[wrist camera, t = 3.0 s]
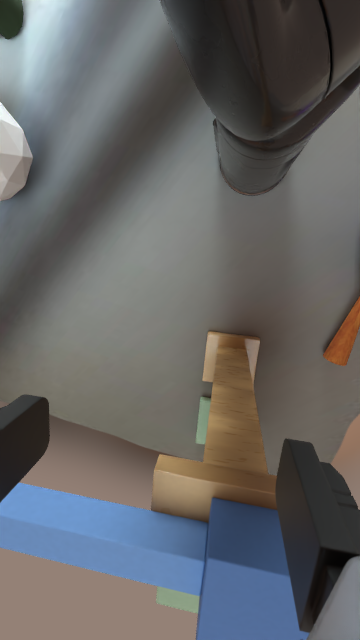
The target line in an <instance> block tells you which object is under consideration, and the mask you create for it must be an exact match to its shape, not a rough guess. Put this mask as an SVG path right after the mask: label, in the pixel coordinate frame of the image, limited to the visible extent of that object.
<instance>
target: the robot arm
mask: <svg viewBox="0 0 360 640" xmlns="http://www.w3.org/2000/svg"><path fill="white" fill-rule="evenodd" d="M159 1H160V3H161V6H162V8H163V11H164V14H165V16H166V19H167V21H168V24H169V26H170V29H171V32H172V34H173V37H174V39H175V42H176V44H177V47H178V49H179V51H180V54H181V56H182V58H183V60H184V63H185V65H186V67H187V69H188V71H189V73H190V75H191V77H192V79H193V81H194V83H195V85H196V87H197V89H198V90H199V92H200V94H201V96H202V98H203V99H204V101H205V102H206V104H207V105H208V107H209V108H210V110H211V111H212V112H213V114H214V115H215V116H216V118H215V120H214V121H213V126H214V134H215V142H216V149H217V152H218V153H219V154H220V169H221V173H222V176H223V178H224V180H225V181H226V183H227V184H228V185H229V186H230V187H231V188H232V189H233V190H234V191H236V192H238V193H240V194H243V195H248V196H255V195H260V194H263V193H266V192H268V191H270V190H271V189H273V188H274V187H275V186H276V185H277V184H278V183H279V182H280V181H281V180H282V178H283V177H284V176H285V174H286V172H287V170H288V169H289V168H290V166H291V165H292V163H293V162H294V161H295V159H296V158H297V157H298V155H299V154H300V152H301V151H302V150H303V148H304V147H305V145H306V144H307V143H308V141H309V140H310V138H311V137H312V136H313V134H314V133H315V132H316V130H317V129H318V128H319V127H320V126H321V125H322V124H323V123H324V122H325V121H326V120H327V119H328V118H329V117H330V116H331V115H332V114H333V113H334V112H335V111H336V110H337V109H338V108H339V107H340V106H341V105H342V104H343V103H344V102H345V101H346V100H347V99H348V98H349V96H350V95H351V94H352V93H353V92H354V91H355V89H356V88H357V87H358V86H359V85H360V0H159ZM49 436H50V435H49V403H48V400H47V399H46V398H44V397H38V396H32V395H22V396H20V397H19V398H17V399H16V400H15V401H13V402H12V403H10V404H9V405H7V406H5V407H2V408H0V503H1V502H2V500H3V499H4V498H5V497H6V496H7V495H8V494H9V493H10V492H11V490H12V489H13V488H14V487H15V486H16V485H17V484H18V483H19V482H20V480H21V479H22V478H23V477H24V476H25V475H26V474H27V473H28V472H29V470H30V469H31V468H32V467H33V466H34V465H35V464H36V463H37V462H38V461H39V459H40V458H41V457H42V456H43V455H44V453H45V451H46V449H47V447H48V443H49ZM275 497H276V505H277V511H278V516H279V521H280V527H281V532H282V538H283V543H284V549H285V554H286V559H287V565H288V570H289V576H290V581H291V586H292V592H293V597H294V603H295V608H296V614H297V619H298V624H299V630H300V631H303V632H307V633H310V634H309V635H308V637H307V639H306V640H360V510H358V506H357V504H356V502H355V500H354V498H353V496H351V492H350V490H349V488H348V486H347V484H346V482H345V480H344V478H343V477H342V476H341V475H340V474H339V473H338V471H336V469H335V468H334V467H333V466H332V465H331V464H330V463H324V462H320V461H319V459H318V456H317V454H316V452H315V449H314V447H313V445H312V443H310V442H304V441H298V440H292V439H285V440H284V443H283V447H282V453H281V458H280V463H279V468H278V473H277V479H276V488H275ZM301 640H303V639H301Z"/></svg>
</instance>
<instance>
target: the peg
mask: <svg viewBox="0 0 360 640" xmlns="http://www.w3.org/2000/svg"><path fill="white" fill-rule="evenodd" d="M0 547H1V548H4V549H8V550H12V551H17V552H21V553H25V554H29V555H33V556H37V557H41V558H46V559H50V560H54V561H58V562H61V563H66V564H70V565H74V566H78V567H82V568H86V569H90V570H94V571H98V572H102V573H106V574H111V575H115V576H119V577H123V578H127V579H131V580H135V581H139V582H143V583H147V584H151V585H156V586H159V587H163V588H168V589H172V590H176V591H180V592H184V593H188V594H192V595H196V596H200V597H199V608H198V620H197V631H196V640H301V639H303V640H306V639H307V637H308V635H309V634H310V633H307V632H303V631H300V630H299V624H298V619H297V614H296V608H295V603H294V597H293V592H292V586H291V581H290V576H289V570H288V565H287V559H286V554H285V549H284V543H283V538H282V532H281V527H280V521H279V516H278V511H277V510H274V509H269V508H263V507H258V506H253V505H248V504H243V503H238V502H233V501H228V500H223V499H218V498H212V500H211V507H210V515H209V522H208V523H207V522H203V521H198V520H193V519H189V518H184V517H179V516H174V515H170V514H165V513H160V512H155V511H150V510H145V509H141V508H136V507H132V506H127V505H122V504H117V503H113V502H108V501H103V500H99V499H94V498H89V497H84V496H80V495H75V494H70V493H65V492H61V491H56V490H51V489H46V488H42V487H37V486H32V485H27V484H23V483H18V484H17V485H16V486H15V487H14V488H13V489H12V490H11V492H10V493H9V494H8V495H7V496H6V497H5V498H4V499H3V500H2V502H1V503H0Z"/></svg>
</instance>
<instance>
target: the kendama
mask: <svg viewBox="0 0 360 640" xmlns="http://www.w3.org/2000/svg"><path fill="white" fill-rule="evenodd" d="M359 327H360V297H359V298H358V300H357V301H356V303H355V305H354V306H353V308H352V309H351V311H350V313H349V314H348V316H347V317H346V319H345V321H344V322H343V324H342V325H341V327H340V329H339V330H338V332H337V333H336V335H335V337H334V338H333V340H332V341H331V343H330V345H329V346H328V348H327V349H326V351H325V353H324V354H323V357H324V358H326V359H327V360H329V361H330V362H332V363H335V364H338V365H342V366H345V365H346V364H347V361H348V358H349V355H350V353H351V350H352V347H353V344H354V341H355V338H356V335H357V333H358V330H359Z"/></svg>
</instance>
